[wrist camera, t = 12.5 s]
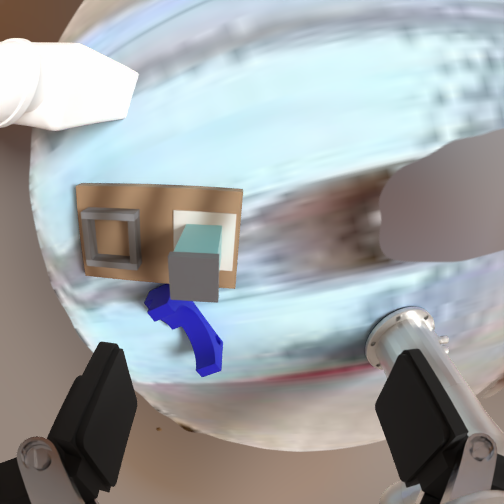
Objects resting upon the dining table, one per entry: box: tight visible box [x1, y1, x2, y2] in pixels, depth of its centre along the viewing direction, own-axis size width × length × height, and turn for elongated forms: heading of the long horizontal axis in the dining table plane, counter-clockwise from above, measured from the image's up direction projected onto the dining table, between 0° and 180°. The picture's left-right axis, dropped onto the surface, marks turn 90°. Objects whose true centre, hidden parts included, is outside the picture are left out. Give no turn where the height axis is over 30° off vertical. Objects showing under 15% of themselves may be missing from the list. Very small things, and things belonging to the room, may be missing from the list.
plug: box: [168, 224, 222, 302], centre depth 31 cm, size 4×4×9 cm
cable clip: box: [144, 283, 223, 377], centre depth 39 cm, size 12×4×6 cm, turn 27°
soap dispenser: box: [0, 38, 139, 131], centre depth 19 cm, size 6×6×22 cm
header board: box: [76, 183, 243, 289], centre depth 35 cm, size 20×12×4 cm, turn 85°
